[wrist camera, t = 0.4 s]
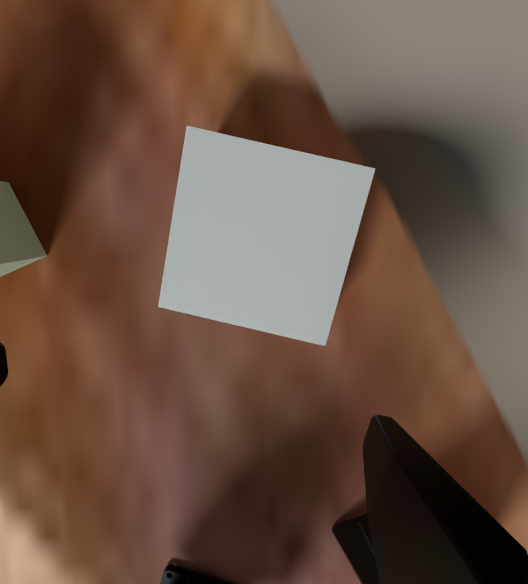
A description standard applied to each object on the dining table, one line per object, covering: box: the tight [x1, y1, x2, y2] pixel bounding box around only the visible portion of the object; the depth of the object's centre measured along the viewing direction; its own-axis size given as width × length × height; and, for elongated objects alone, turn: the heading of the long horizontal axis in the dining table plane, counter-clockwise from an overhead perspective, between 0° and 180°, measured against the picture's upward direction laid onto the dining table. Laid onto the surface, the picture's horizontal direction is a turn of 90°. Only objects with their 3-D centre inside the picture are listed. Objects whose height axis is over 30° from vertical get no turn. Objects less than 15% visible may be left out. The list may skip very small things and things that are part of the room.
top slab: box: [158, 126, 375, 346], centre depth 19 cm, size 9×9×2 cm
